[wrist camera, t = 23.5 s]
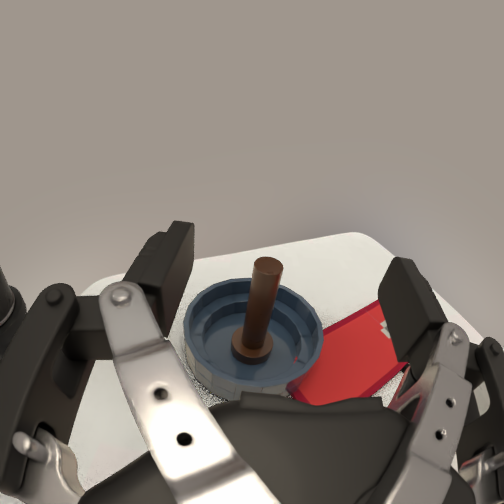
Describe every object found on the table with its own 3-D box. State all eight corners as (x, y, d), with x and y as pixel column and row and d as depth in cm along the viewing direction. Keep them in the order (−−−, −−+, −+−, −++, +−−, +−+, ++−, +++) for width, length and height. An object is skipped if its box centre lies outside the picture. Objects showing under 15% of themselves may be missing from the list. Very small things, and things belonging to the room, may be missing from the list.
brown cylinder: (228, 361, 30) (238, 279, 23) (233, 330, 34) (244, 246, 26) (270, 367, 30) (296, 287, 23) (271, 335, 34) (294, 253, 27)
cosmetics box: (472, 427, 22) (525, 385, 16) (452, 396, 27) (499, 349, 21) (499, 394, 25) (541, 353, 19) (481, 368, 30) (519, 325, 24)
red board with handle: (456, 341, 36) (399, 290, 46) (464, 330, 34) (405, 278, 44) (338, 459, 22) (263, 363, 32) (348, 452, 20) (266, 350, 30)
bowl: (172, 393, 26) (167, 371, 23) (200, 297, 38) (200, 269, 35) (313, 411, 26) (329, 391, 23) (307, 312, 39) (316, 286, 36)
